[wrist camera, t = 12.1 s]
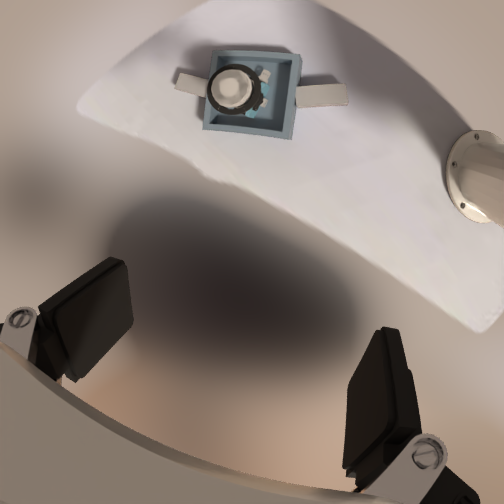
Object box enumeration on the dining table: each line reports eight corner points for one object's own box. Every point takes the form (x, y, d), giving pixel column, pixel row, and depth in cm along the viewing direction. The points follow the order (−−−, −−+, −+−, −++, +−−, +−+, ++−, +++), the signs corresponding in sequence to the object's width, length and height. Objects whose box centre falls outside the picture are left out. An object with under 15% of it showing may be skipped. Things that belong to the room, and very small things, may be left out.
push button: (250, 65, 30) (222, 43, 21) (289, 81, 29) (274, 60, 20) (228, 110, 33) (193, 102, 24) (265, 126, 32) (242, 123, 23)
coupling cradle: (351, 69, 27) (353, 63, 24) (340, 148, 32) (341, 149, 29) (187, 57, 31) (176, 52, 28) (178, 127, 36) (167, 127, 33)
